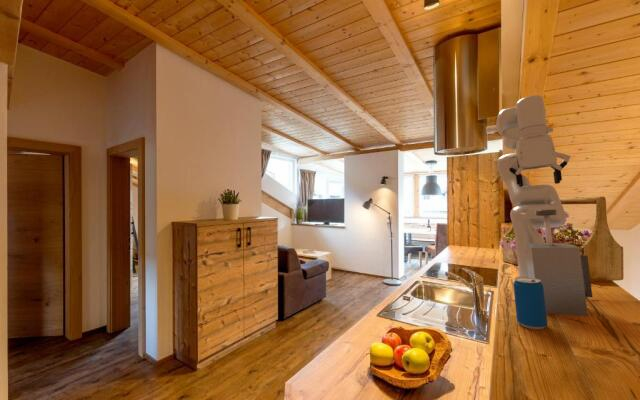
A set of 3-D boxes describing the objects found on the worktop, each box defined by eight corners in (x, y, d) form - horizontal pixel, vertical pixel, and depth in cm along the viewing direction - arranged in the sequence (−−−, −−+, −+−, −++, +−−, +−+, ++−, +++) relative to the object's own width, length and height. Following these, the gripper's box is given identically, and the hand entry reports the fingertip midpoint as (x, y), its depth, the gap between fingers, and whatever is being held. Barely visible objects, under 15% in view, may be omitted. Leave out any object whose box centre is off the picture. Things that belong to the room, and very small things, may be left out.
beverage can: (553, 330, 70) (548, 282, 71) (524, 330, 72) (519, 282, 72) (539, 320, 77) (534, 276, 77) (512, 320, 78) (508, 277, 79)
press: (530, 301, 92) (524, 243, 94) (585, 304, 86) (578, 242, 87) (538, 312, 83) (531, 247, 84) (601, 317, 76) (592, 247, 78)
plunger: (531, 269, 92) (525, 210, 93) (567, 270, 88) (559, 208, 89) (538, 275, 84) (530, 211, 85) (577, 276, 80) (569, 209, 81)
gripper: (562, 131, 93) (569, 183, 91) (501, 141, 100) (506, 188, 99) (570, 125, 86) (577, 180, 85) (503, 136, 94) (509, 187, 93)
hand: (538, 185), depth 92 cm, fingers open, 9 cm apart
